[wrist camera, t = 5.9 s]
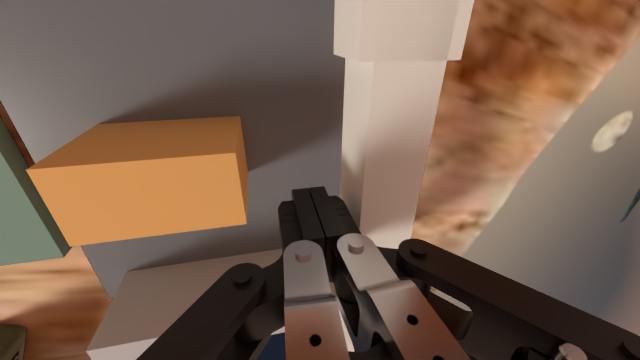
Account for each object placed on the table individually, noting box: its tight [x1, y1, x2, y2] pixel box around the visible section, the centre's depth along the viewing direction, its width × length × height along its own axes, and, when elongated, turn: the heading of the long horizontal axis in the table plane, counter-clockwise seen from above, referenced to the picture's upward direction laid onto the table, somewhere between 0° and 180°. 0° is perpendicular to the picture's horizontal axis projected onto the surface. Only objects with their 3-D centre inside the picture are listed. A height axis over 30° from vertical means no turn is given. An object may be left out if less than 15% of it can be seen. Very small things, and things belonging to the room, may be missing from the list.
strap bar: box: [334, 0, 474, 352], centre depth 13 cm, size 23×4×3 cm, turn 0°
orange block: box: [26, 116, 248, 247], centre depth 15 cm, size 4×8×6 cm, turn 90°
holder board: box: [0, 0, 345, 360], centre depth 16 cm, size 24×20×7 cm
